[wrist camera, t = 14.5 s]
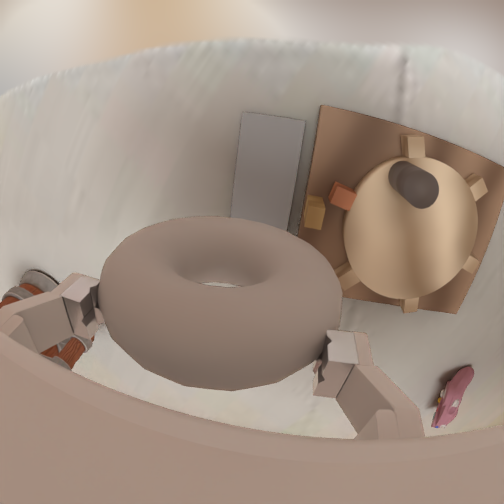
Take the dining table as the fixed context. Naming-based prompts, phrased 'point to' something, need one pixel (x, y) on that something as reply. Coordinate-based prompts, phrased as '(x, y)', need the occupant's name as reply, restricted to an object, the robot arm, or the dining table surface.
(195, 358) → the donut
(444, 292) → the wheel base
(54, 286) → the mug
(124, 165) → the dining table surface
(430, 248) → the index wheel
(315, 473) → the robot arm
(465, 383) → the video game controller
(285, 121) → the donut mat
